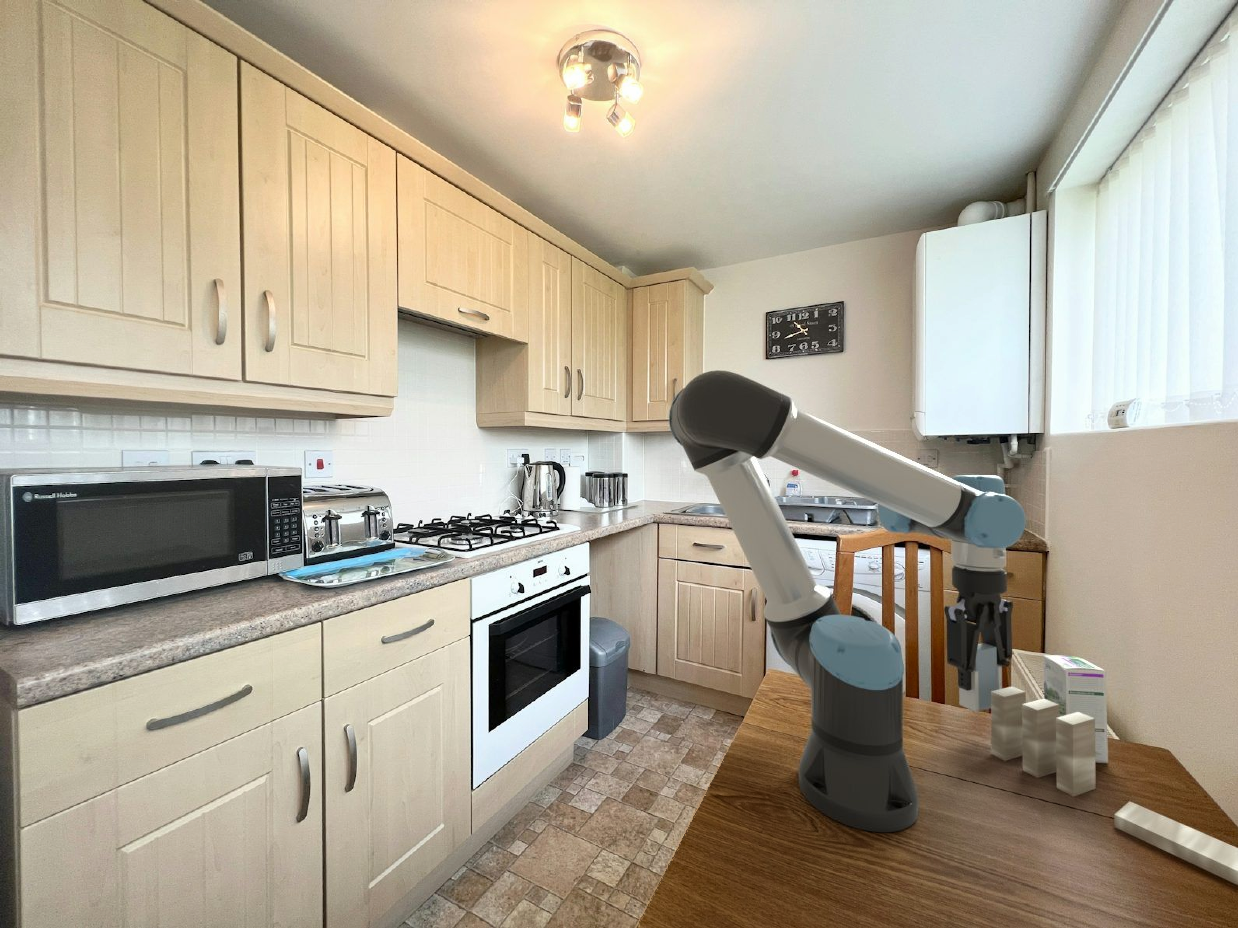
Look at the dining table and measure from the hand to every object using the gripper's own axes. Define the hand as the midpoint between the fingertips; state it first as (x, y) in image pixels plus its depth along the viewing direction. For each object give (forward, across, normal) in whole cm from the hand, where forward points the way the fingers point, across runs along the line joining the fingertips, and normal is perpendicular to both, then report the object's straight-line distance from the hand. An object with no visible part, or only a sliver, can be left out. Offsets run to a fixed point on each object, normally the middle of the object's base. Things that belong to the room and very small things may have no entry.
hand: (980, 704), depth 83 cm
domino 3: (+6, 0, -9) cm, 11 cm away
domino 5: (+5, -2, -19) cm, 20 cm away
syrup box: (+6, +10, -8) cm, 14 cm away
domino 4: (+6, 0, -13) cm, 15 cm away
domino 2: (+6, 0, -4) cm, 7 cm away
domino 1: (0, 0, 0) cm, 0 cm away
